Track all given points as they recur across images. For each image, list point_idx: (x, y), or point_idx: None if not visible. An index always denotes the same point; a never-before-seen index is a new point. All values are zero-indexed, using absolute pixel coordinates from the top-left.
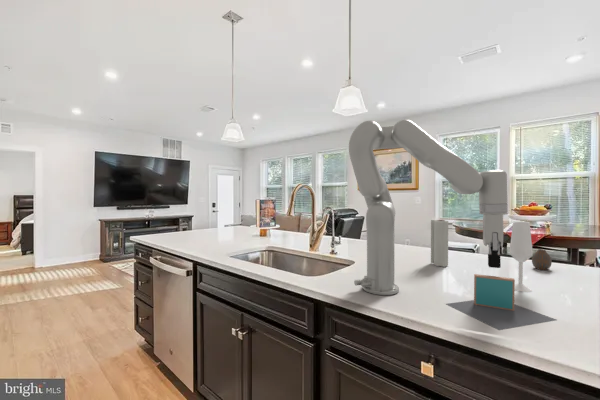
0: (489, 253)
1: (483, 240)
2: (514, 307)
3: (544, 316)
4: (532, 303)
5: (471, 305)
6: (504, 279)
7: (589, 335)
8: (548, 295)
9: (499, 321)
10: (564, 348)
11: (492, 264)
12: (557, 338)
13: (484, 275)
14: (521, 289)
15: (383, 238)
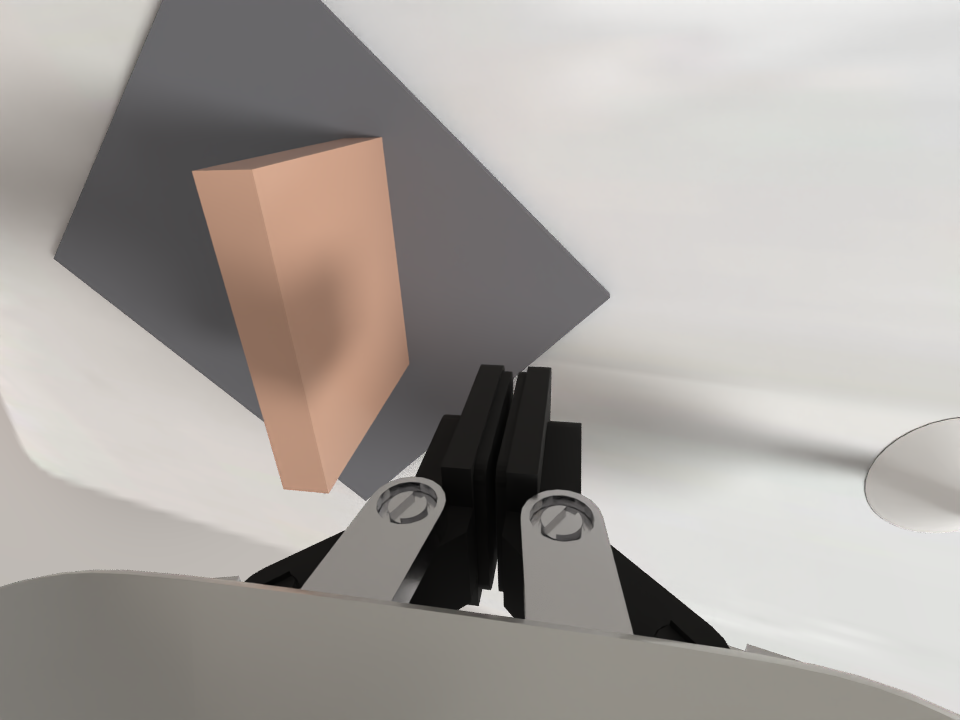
0: (373, 498)
1: (294, 712)
2: (438, 372)
3: (377, 469)
4: (604, 469)
5: (310, 119)
6: (270, 424)
7: (292, 542)
8: (816, 577)
9: (158, 271)
10: (111, 443)
11: (443, 419)
12: (183, 447)
13: (262, 277)
14: (892, 481)
15: None
